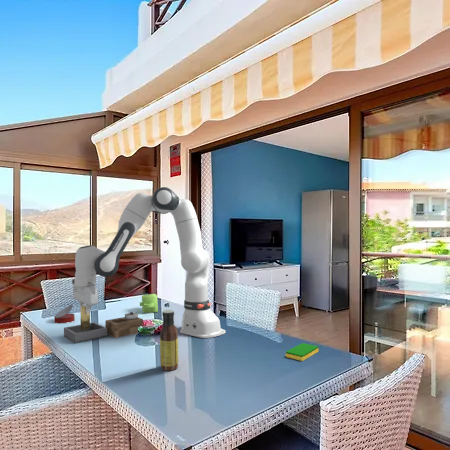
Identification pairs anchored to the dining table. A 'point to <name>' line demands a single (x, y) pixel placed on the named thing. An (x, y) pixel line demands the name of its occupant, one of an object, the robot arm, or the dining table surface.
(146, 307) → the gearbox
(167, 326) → the sauce bottle
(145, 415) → the dining table surface
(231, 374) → the dining table surface
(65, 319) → the canned food
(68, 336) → the pin tray
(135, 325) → the brown wooden box
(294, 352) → the dish sponge
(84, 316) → the pin
